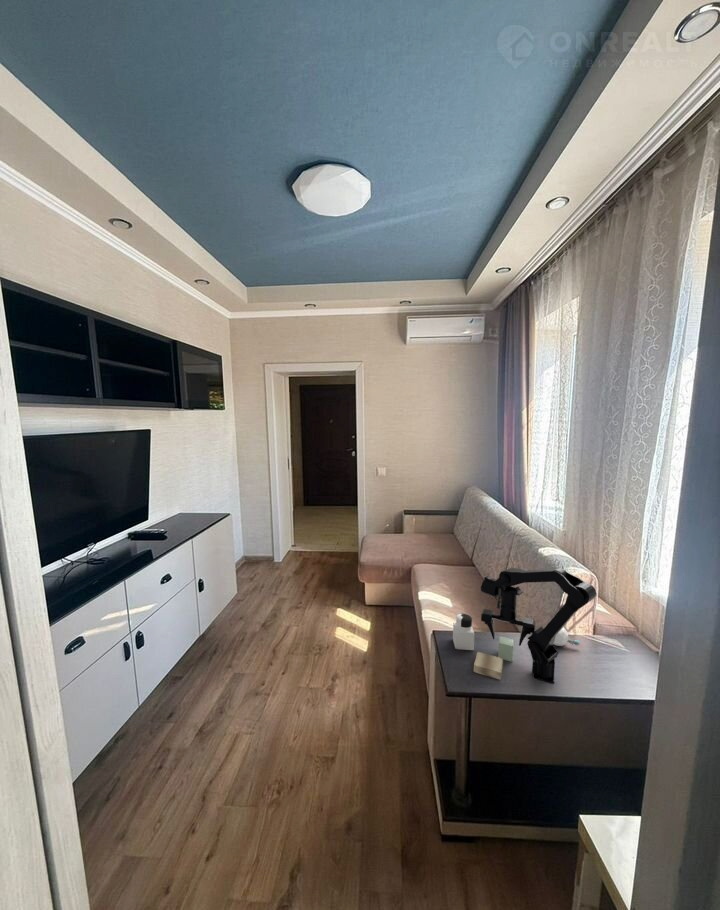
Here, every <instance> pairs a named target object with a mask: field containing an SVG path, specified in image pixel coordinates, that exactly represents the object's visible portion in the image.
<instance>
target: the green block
mask: <svg viewBox="0 0 720 910" xmlns="http://www.w3.org/2000/svg"><path fill="white" fill-rule="evenodd" d="M514 641H515V639H512V638H508V637H505V636H499V640H498V652H497V653H498V654H497V657H499V658H503V661H508V662H513V657H514V644H515V643H514Z"/></svg>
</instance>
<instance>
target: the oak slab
mask: <svg viewBox="0 0 720 910" xmlns="http://www.w3.org/2000/svg"><path fill="white" fill-rule="evenodd" d="M503 666H504V659H503V658H499V657H498V656H495V655H491V654H488V653H484V652H481V651H477V653H476V657H475V660H474V663H473V673H476V674H480V675H483V676H487V677H490V678H493V679H497V680H501V679H502V673H503Z"/></svg>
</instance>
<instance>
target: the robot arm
mask: <svg viewBox="0 0 720 910" xmlns="http://www.w3.org/2000/svg"><path fill="white" fill-rule="evenodd" d="M498 575H499V576H498V578H497V579H495V578H492V577H491V576H487V575H486V576H485V577H483V578H484V579H483V581H482V583H481V585H480V591H481V593H482V594H483V595H484V594H485V595H487V596H490V597H492V598H494V599H497V598H499V597H500V599H497V606H496V608H497V609H499V615H498V614H495V613H494V610H492V609H486V608H483V609H482V612H481V615H480V621H481V622H484V624H485V625H487V627H488V630H489V631H490V634H491V637H492V640H495V639H496V638H495V637H496V633H495V632H496V631H495V630H496V629H495V621H499V622H503V623H507V624H512V625H517V626H520V627H521V632H520V636H519V640H518V641H519V642H518V646H519V647H521V645H522V643H523V642H524V640H525V638H526V636H527V635H529V636H527V646H528V649H529V652H530V654H531V658H532V663H531V664H532V669H531V671H532V672H531V673H532V674H533V678H534V679H536V680H540V681H544V682H547V683H551V684H555V670H556V669H555V666H556V660H555V659H556V658H558V656H559V651H558V650H557V649H556V647H555V645H554V644H553V643H554V641H555V637H556V635H557V634H558V633H559V631H560V630H561V629H562V628H563V627H564V628H565V626H566V625H567V624H568V622H570V620H571V619H572V618H573V616H574V615H575V614H576V613H577V612H578V611H579V610H581V608H583V607H584V606H586V605H588V603H590V602H591V601H593V600H594V599H595V598H596V597H597V595H598V594H597V592H596V589H595V587H594V586H593V585H592V584H591V583H589V582H587V581H584V580H583V579H582V578H580V577H578V576H576V575H574V574H572V573H569V571H567V570H566V569H564V568H561V567H558V568H550V569H547V568H546V569H532V570H531V569H530V570H526V569H525V570H524V569H521V568H516V567H515V568H514V567H509V568H507V569H505V570H502V571H500V572H499V574H498ZM551 582H552V583H556V584H557V585H558V587H559V588H561V590H562V591H563V592H564V593H565V594H566V595H567V596H566V599H565V603H564V604H563V605H562V607H560V609H559V610H558V611H557V613H555V615H554V616H553V617H552V618H551V619H550V621H549V622H548V623H547V625H546V626H545V627H543V626H542V625H540V626H539V627H537V628H536V621H535V620H534V619H533V618H530V617H526V616H525V617H523V619H518V618H517V616H518V615H517V610H518V609H517V604H518V602H517V601H518V596H520V595H521V594H523V593H524V591H523V590H522V589H521V588H520V586H516V585H520V584H521V585H522V584H524V583H551Z"/></svg>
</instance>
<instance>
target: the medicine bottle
mask: <svg viewBox="0 0 720 910" xmlns="http://www.w3.org/2000/svg"><path fill="white" fill-rule="evenodd" d="M452 641H453V645H454V648H455V649H456V650H465V651H474V649H475V631H474V628H473V618H472V617H471V615H469V614H467V613H458V614H457V615H456V618H455V622H454V623H453V627H452Z"/></svg>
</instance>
